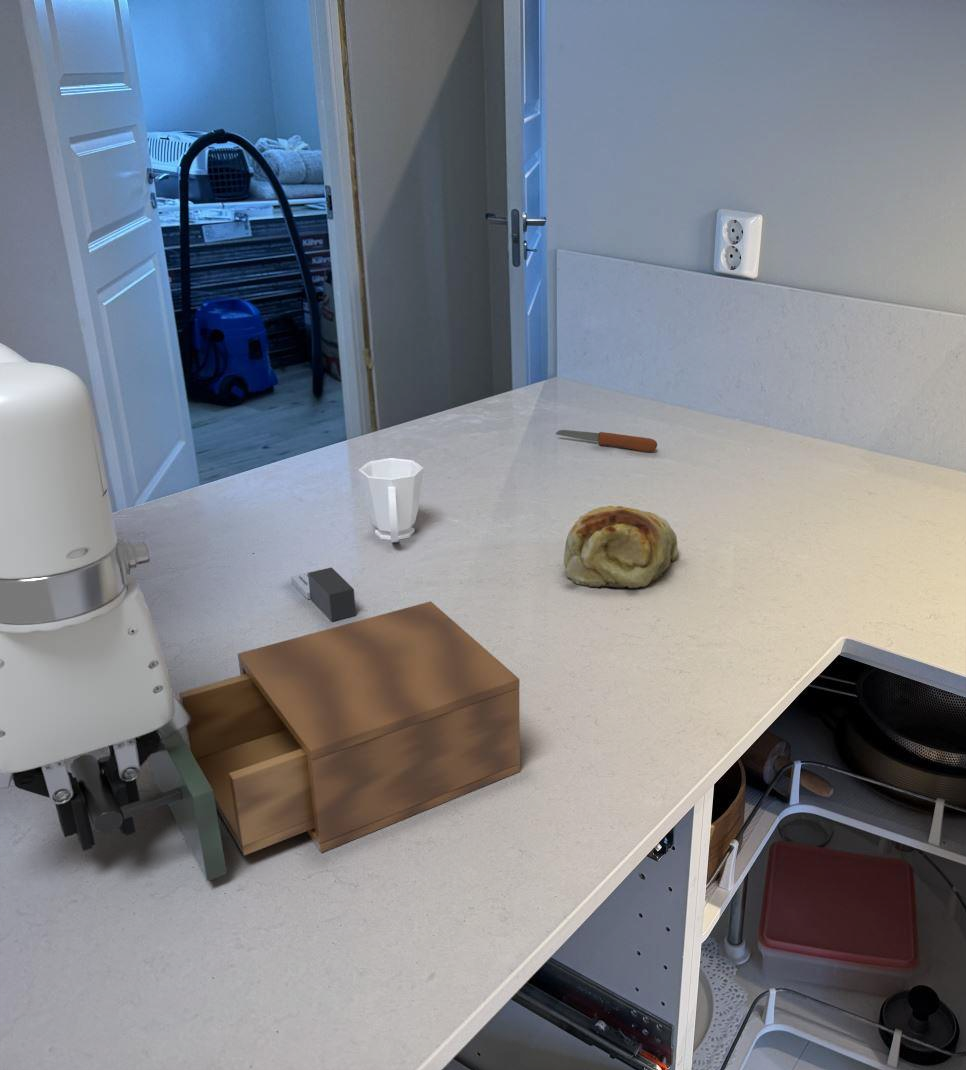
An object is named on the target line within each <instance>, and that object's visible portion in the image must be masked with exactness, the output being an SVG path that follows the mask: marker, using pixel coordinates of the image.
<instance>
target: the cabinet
mask: <svg viewBox="0 0 966 1070" xmlns="http://www.w3.org/2000/svg"><path fill="white" fill-rule="evenodd" d="M237 659H238V666H239V676H240V675H243V674H248V675H249V677H250V678H251V679H252V681H253V682H254V684H255V685H256V686H257V688H258V689H259V690H260V692H261V693H262V694H263V696H264V697H265V698H266V700H267V701H268V703H269V704H270V705H271V707H272V708H273V709H274V711H275V712H276V713H277V715H278V716H279V717H280V719H281V720H282V721H283V723H284V724H285V726H286V727H287V728H288V730H289V731H290V732H291V734H292V735H293V736H294V738H295V739H296V740H297V742H298V743H299V745H300V746H301V747H302V749H303V750H304V751H305V753H306V754H307V760H308V769H309V778H310V787H311V796H312V806H313V815H314V824H315V828H313V829H311V830H308V831H306V832H307V834H308V836H309V837H310V839H311V840H312V841H313V843H314V845H315V846H316V847H317V849H318V850H319V852H320V853H325V852H327V851H330V850H333V849H334V848H337V847H340V846H342V845H344V844H346V843H349V842H351V841H355V840H357V839H359V838H361V837H363V836H366V835H369V834H371V833H373V832H376V831H378V830H381V829H383V828H385V827H388V826H392V825H393V824H396V823H398V822H400V821H403V820H405V819H408V818H410V817H413V816H415V815H417V814H421V813H422V812H425V811H427V810H430V809H432V808H434V807H437V806H440V805H442V804H445V803H447V802H449V801H452V800H454V799H456V798H459V797H461V796H463V795H466V794H469V793H472V792H474V791H476V790H478V789H481V788H484V787H486V786H488V785H490V784H493V783H495V782H498V781H501V780H503V779H505V778H508V777H511V776H513V775H515V774H518V773H520V770H521V769H520V768H521V765H520V763H521V761H520V759H521V755H520V754H521V753H520V752H521V751H520V750H521V749H520V748H521V747H520V745H521V743H520V742H521V741H520V736H521V735H520V734H521V733H520V732H521V731H520V730H521V729H520V728H521V727H520V726H521V725H520V724H521V723H520V715H521V714H520V713H521V712H520V684H521V683H520V681H521V680H520V677H518V676H517V675H516V674H515V673H513V672H512V671H511V670H510V669H509V668H508V667H506V665H504V664H503V663H502V662H501V661H500V660H499V659H497V657H496V656H494V655H493V654H492V653H491V652H489V651H488V649H486V648H485V647H484V646H483V645H482V644H480V642H478V641H477V640H476V639H475V638H473V636H471V635H470V634H469V633H468V632H467V631H466V630H465V629H463V628H462V627H461V626H460V625H459V624H458V623H457V622H455V621H454V620H453V619H452V618H451V617H449V616H448V615H447V614H446V613H445V612H444V611H443V610H441V609H440V607H438V606H437V605H436V604H435V603H433V601H432V600H429V601H426V602H422V603H420V604H419V603H418V604H414V605H412V606H408V607H404V608H401V609H397V610H393V611H390V612H386V613H383V614H382V613H381V614H379V615H375V616H371V617H367V618H364V619H360V620H357V621H353V622H349V623H346V624H341V625H338V626H335V627H330V628H327V629H324V630H319V631H316V632H312V633H308V634H305V635H301V636H297V637H294V638H290V639H286V640H283V641H279V642H275V643H272V644H268V645H265V646H260V647H258V648H254V649H250V650H246V651H242V652H238V653H237Z"/></svg>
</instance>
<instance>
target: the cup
mask: <svg viewBox="0 0 966 1070" xmlns="http://www.w3.org/2000/svg"><path fill="white" fill-rule="evenodd" d="M358 474H359V479H360V482H361V487H362V490H363V494H364V498H365V503H366V507H367V510H368V513H369V516H370V518H371V521H372V524H373V526H375V527H376V529H375V530H374V534H375V535H376V536H377V537H378V538H379V539H380V540H388V541H390V543H399V542H400V540H404V539H409V538H411V536H412V535H413V534H414V533H415V528H414V527H413V525H414V524H415V523H416V520H417V515H418V511H419V507H420V499H421V491H422V489H421V488H422V483H423V476H424V475H423V474H424V467H423V466H422V465H421V464H419V463H418V462H416V461H415V460H413V459H404V458H402V459H401V458H395V457H389V458H382V459H375V460H370V461H367V462H366V463H365V464H364V465H362V466H361V467H360V468H359V469H358Z"/></svg>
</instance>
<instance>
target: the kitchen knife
mask: <svg viewBox="0 0 966 1070" xmlns="http://www.w3.org/2000/svg"><path fill="white" fill-rule="evenodd" d="M555 435H557V436H563V437H567V438H572V439H577V440H578V439H579V440H584V441H590V442H597V443H598V446H611V447H619V448H622V449H623V448H624V449H628V450H632V451H633V450H634V451H638V452H643V453H651V452H654V451H655V450H656V449H658V442H657V441H656V439H653V438H649V437H642V436H634V435H627V434H620V433H612V432H604V431H600V432H592V431H590V432H589V431H580V430H571V429H560V430H557V431H556V432H555Z"/></svg>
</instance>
